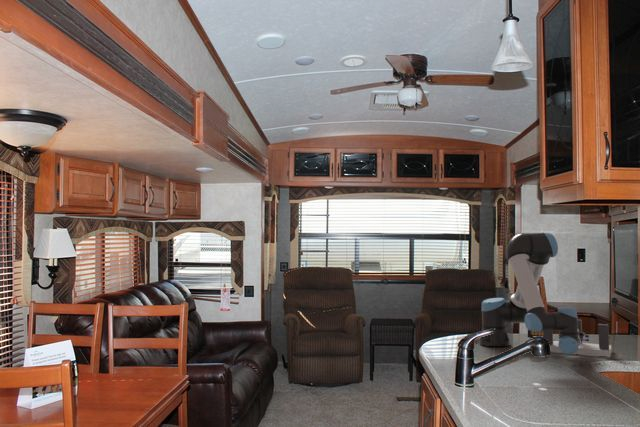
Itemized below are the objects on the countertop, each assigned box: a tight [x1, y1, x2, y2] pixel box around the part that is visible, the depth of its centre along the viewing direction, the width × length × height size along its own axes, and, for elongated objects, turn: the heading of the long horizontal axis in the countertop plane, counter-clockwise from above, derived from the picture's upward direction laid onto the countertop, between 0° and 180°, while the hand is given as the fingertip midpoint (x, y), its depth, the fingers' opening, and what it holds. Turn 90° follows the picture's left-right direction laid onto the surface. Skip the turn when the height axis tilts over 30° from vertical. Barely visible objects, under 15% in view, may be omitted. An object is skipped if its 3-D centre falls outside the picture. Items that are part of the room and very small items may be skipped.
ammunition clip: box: [527, 329, 543, 338], centre depth 293 cm, size 11×2×12 cm, turn 58°
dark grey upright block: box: [577, 318, 583, 343], centre depth 264 cm, size 2×4×11 cm, turn 59°
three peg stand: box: [543, 323, 613, 358], centre depth 259 cm, size 13×29×14 cm, turn 60°
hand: (577, 331), depth 262 cm, fingers closed
